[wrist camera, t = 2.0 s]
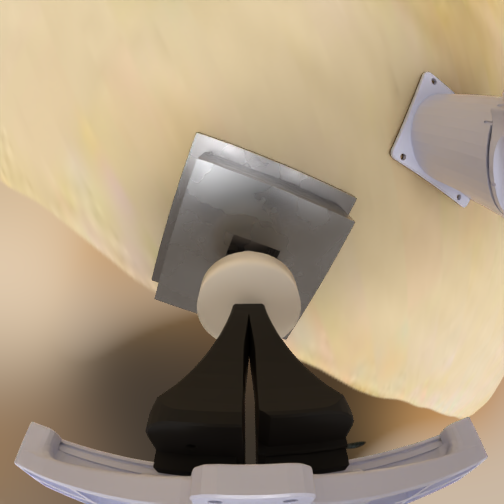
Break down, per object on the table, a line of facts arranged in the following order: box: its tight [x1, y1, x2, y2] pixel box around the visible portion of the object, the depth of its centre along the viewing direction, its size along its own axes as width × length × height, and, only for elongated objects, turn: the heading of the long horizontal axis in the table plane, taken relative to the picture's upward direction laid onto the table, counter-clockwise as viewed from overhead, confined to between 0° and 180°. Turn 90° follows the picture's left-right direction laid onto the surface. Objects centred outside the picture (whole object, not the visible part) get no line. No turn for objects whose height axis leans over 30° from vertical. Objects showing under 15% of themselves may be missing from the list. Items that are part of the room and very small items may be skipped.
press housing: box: [152, 132, 357, 339], centre depth 20 cm, size 12×12×4 cm
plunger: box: [197, 250, 301, 339], centre depth 16 cm, size 5×5×5 cm
